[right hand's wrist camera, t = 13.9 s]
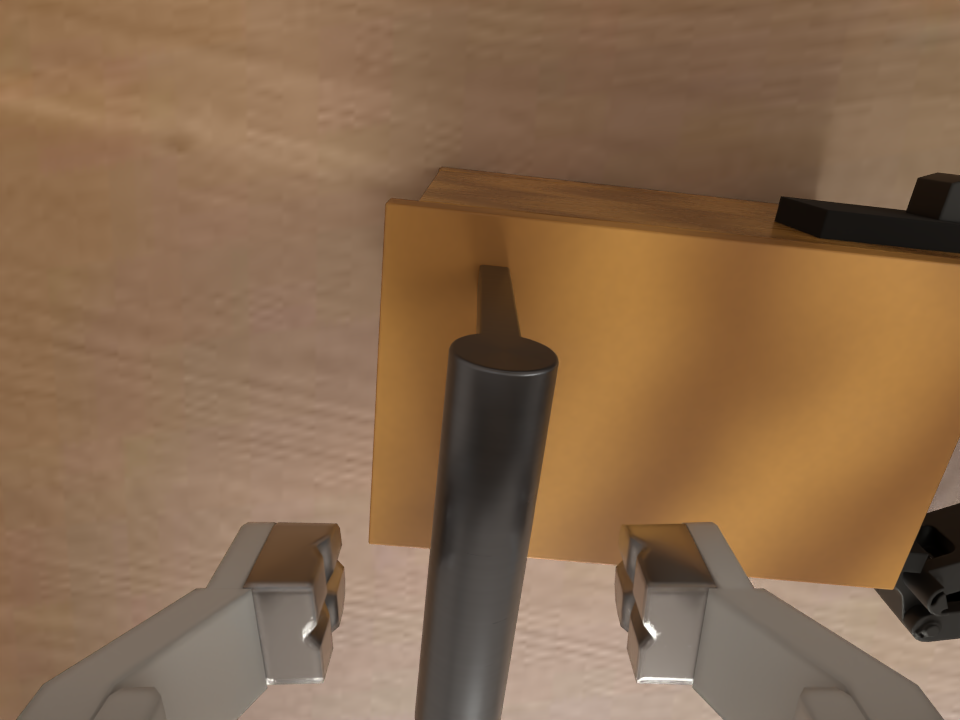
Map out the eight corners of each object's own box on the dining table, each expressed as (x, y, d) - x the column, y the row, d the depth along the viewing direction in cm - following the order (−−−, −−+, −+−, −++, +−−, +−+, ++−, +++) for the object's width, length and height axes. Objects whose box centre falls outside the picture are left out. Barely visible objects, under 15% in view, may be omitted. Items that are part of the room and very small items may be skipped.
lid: (373, 525, 19) (305, 787, 11) (390, 197, 15) (307, 277, 8) (876, 570, 19) (1113, 846, 12) (1004, 264, 16) (1444, 393, 8)
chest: (422, 392, 27) (395, 526, 19) (440, 166, 24) (417, 199, 15) (751, 424, 28) (875, 569, 19) (814, 207, 25) (1003, 263, 16)
